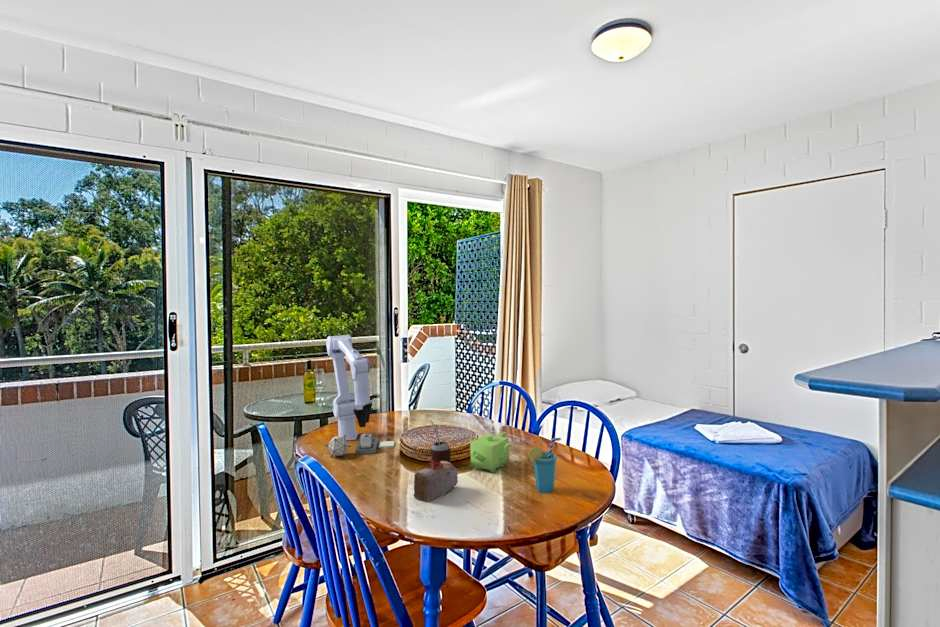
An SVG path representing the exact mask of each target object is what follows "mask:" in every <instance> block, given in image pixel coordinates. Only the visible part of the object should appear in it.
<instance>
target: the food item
mask: <svg viewBox="0 0 940 627" xmlns="http://www.w3.org/2000/svg"><path fill="white" fill-rule="evenodd" d="M458 480H459V477H458V469H457V468H456V467H455V466H454V465H453V463H451V462H447V461H440V462H437V461H436V462H434V461H429V462H428V463H427V464H426V467H425V468H423V469H420V470H418V471H416V472H414V480H413V481H414V482H413V483H414V484H413V491H414V494H413V498H414V499H417V500H418V501H423V502H425V503H428V502H430V501H432V500H434V499H435V498H437V497H444V495H446V494H447V493H448V492H449V491H450V490H452V489H454V488H455V487H456V486H457V484H458V482H459V481H458Z"/></svg>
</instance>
